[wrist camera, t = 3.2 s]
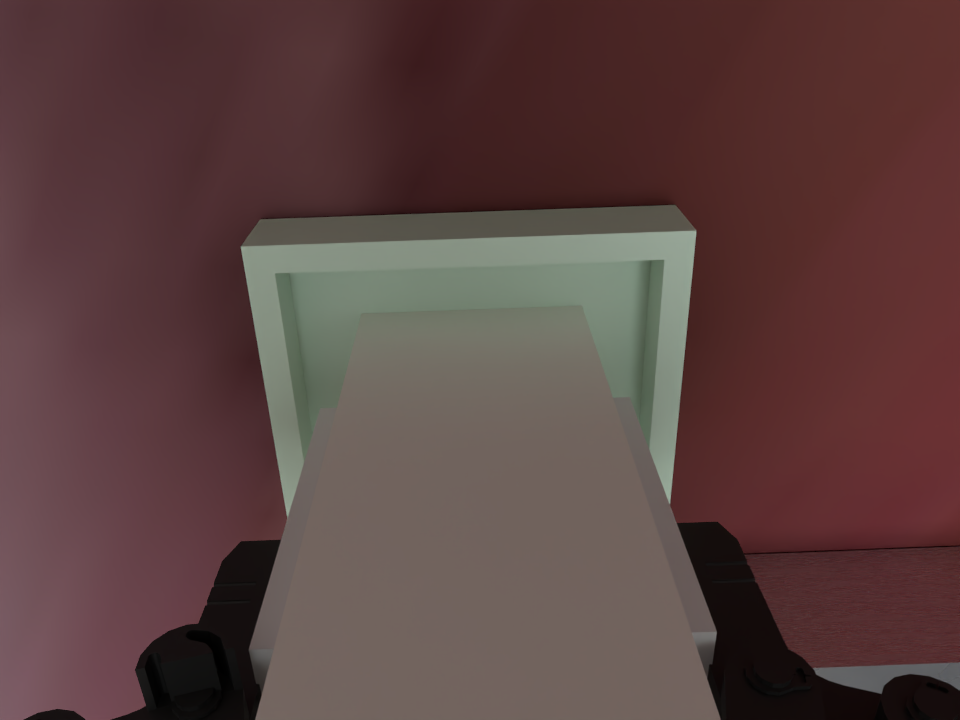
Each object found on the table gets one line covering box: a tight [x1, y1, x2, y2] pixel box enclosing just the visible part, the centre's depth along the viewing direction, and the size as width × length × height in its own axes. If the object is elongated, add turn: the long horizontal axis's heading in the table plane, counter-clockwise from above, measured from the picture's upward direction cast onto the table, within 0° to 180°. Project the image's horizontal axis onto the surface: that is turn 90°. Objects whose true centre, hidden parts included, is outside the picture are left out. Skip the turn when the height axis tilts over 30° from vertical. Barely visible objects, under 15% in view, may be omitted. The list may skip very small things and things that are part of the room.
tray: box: [241, 205, 696, 519], centre depth 19 cm, size 9×9×2 cm
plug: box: [255, 306, 721, 720], centre depth 13 cm, size 5×5×14 cm
